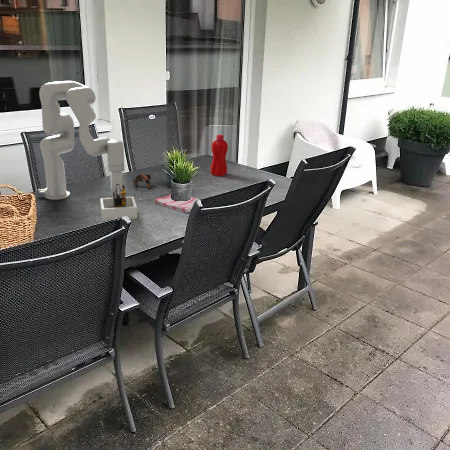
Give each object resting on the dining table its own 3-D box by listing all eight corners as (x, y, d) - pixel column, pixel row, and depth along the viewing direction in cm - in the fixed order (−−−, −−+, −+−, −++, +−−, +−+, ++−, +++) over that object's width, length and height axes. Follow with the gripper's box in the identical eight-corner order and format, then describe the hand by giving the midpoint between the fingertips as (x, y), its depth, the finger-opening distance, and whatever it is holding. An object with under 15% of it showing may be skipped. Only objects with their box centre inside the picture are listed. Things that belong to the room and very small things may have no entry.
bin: (102, 221, 221) (102, 209, 218) (101, 209, 234) (100, 198, 232) (137, 218, 225) (136, 207, 223) (133, 207, 238) (133, 196, 236)
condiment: (129, 209, 228) (128, 186, 223) (112, 212, 224) (111, 188, 219) (123, 205, 234) (122, 182, 229) (107, 207, 229) (105, 184, 224)
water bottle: (207, 175, 294) (208, 135, 284) (216, 171, 303) (217, 132, 293) (219, 178, 290) (220, 137, 280) (228, 174, 298) (230, 134, 289)
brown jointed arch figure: (147, 190, 264) (139, 178, 261) (135, 194, 270) (127, 183, 267) (157, 180, 273) (150, 168, 270) (146, 184, 279) (138, 172, 275)
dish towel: (175, 195, 259) (175, 189, 257) (209, 206, 246) (209, 199, 245) (153, 203, 246) (153, 197, 245) (187, 215, 234) (187, 208, 232)
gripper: (106, 162, 227) (108, 197, 234) (109, 172, 212) (111, 210, 219) (122, 161, 229) (124, 196, 236) (126, 172, 214) (127, 209, 221)
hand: (117, 202), depth 227 cm, fingers closed on condiment, 6 cm apart
